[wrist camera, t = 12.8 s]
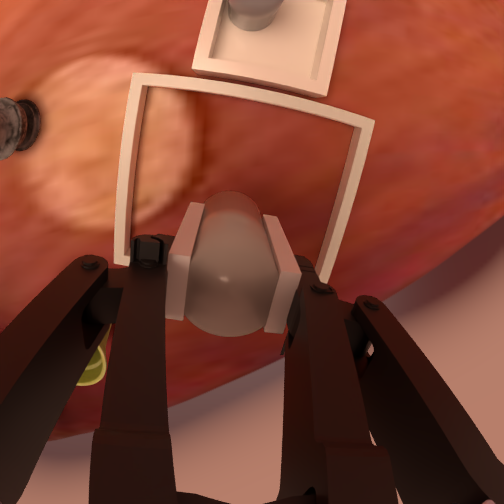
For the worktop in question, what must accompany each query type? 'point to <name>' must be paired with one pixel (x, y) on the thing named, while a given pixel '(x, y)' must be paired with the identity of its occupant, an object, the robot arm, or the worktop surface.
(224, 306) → the stone
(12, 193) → the worktop surface
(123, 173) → the tray
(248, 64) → the cream square box
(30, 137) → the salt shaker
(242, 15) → the stone
